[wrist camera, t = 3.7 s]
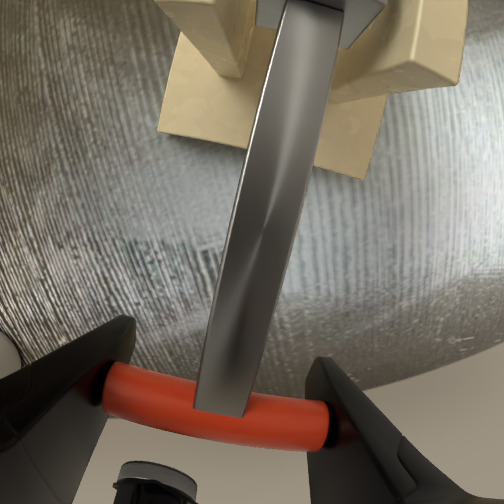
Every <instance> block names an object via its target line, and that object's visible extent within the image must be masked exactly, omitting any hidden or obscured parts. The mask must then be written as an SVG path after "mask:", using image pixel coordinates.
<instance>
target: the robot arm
mask: <svg viewBox="0 0 504 504" xmlns="http://www.w3.org/2000/svg"><path fill="white" fill-rule="evenodd" d="M135 341H136V319H135V318H134V317H131V316H127V315H119V316H118V317H116V318H114V319H112V320H110V321H108V322H106V323H104V324H103V325H101V326H99V327H97V328H95V329H93V330H91V331H90V332H88V333H86V334H84V335H82V336H80V337H78V338H77V339H75V340H73V341H71V342H69V343H67V344H65V345H64V346H62V347H60V348H58V349H56V350H54V351H53V352H51V353H49V354H47V355H45V356H43V357H41V358H40V359H38V360H36V361H34V362H32V363H31V365H30V364H28V365H27V366H25V367H23V368H21V369H19V370H17V371H15V372H13V373H11V374H9V375H7V376H5V377H3V378H1V379H0V504H72V502H73V500H74V497H75V495H76V492H77V490H78V487H79V485H80V482H81V480H82V477H83V475H84V472H85V470H86V467H87V465H88V463H89V460H90V458H91V456H92V453H93V451H94V448H95V446H96V444H97V442H98V439H99V437H100V435H101V432H102V430H103V428H104V426H105V423H106V421H107V419H108V417H109V414H106V413H105V412H104V411H103V408H102V392H103V386H104V382H105V379H106V376H107V373H108V371H109V369H110V367H111V366H112V364H113V363H114V362H117V361H119V362H123V363H126V364H129V362H130V359H131V356H132V353H133V350H134V347H135ZM305 399H308V400H318V401H323V402H324V403H326V405H327V407H328V410H329V430H328V435H327V438H326V441H325V443H324V445H323V447H322V448H321V449H320V450H319V451H316V452H307V461H308V473H309V484H310V497H311V504H504V500H503V499H491V498H482V497H477V496H474V495H472V494H469V493H467V492H466V491H464V490H463V489H462V488H460V487H459V486H458V485H457V484H455V483H454V482H453V481H452V480H451V479H449V478H448V477H447V476H446V475H445V474H444V473H442V472H441V471H440V470H439V469H438V468H437V467H435V466H434V465H433V464H432V463H431V462H430V461H429V460H428V459H426V458H425V457H424V456H423V455H422V454H421V453H420V452H419V451H418V450H417V449H416V448H415V447H414V446H413V445H412V444H411V443H410V442H409V441H408V440H407V438H406V437H405V436H402V433H401V432H400V431H399V430H398V429H397V428H396V427H395V426H394V425H393V424H392V423H391V422H390V421H389V420H388V418H387V417H386V416H385V415H384V414H383V413H382V412H381V411H380V410H379V409H378V408H377V407H376V406H375V405H374V403H372V401H371V400H370V399H369V398H368V397H367V396H366V395H365V394H364V393H363V392H362V391H361V390H360V388H359V387H358V386H357V385H356V384H355V383H354V382H353V381H352V380H351V379H350V378H349V377H348V376H347V374H346V373H345V372H344V371H343V370H342V369H341V368H340V367H339V366H338V365H337V364H336V363H335V361H334V360H333V359H332V358H330V357H323V356H318V357H316V358H315V360H314V362H313V364H312V366H311V368H310V370H309V373H308V375H307V377H306V382H305ZM113 488H115V489H116V490H117V493H116V496H115V500H114V503H113V504H198V503H196V502H194V501H192V500H190V499H189V498H187V497H185V496H183V495H181V494H180V493H178V492H176V491H174V490H173V489H171V488H169V487H168V486H166V485H164V484H163V483H161V482H159V481H158V480H154V479H149V480H140V481H130V482H118V483H113Z"/></svg>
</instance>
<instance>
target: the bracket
mask: <svg viewBox="0 0 504 504" xmlns="http://www.w3.org/2000/svg"><path fill="white" fill-rule="evenodd" d="M154 2H155V3H156V4H157V5H158V6H159V7H160V8H161V9H162V10H163V11H164V13H165V14H166V15H167V16H168V17H169V18H170V19H171V20H172V21H173V23H174V24H175V25H176V26H177V27H178V28H179V29H180V30H181V32H180V36H179V40H178V43H177V47H176V50H175V54H174V58H173V62H172V66H171V70H170V74H169V78H168V82H167V86H166V91H165V95H164V100H163V104H162V109H161V114H160V119H159V124H158V129H157V131H158V132H160V133H166V134H172V135H178V136H184V137H189V138H195V139H200V140H205V141H210V142H215V143H220V144H225V145H230V146H234V147H239V148H244V149H247V146H248V142H249V138H250V133H251V129H252V125H253V121H254V117H255V113H256V109H257V105H258V101H259V97H260V93H261V89H262V86H263V82H264V78H265V74H266V70H267V66H268V62H269V59H270V55H271V51H272V47H273V43H274V40H275V36H276V32H277V30H275V29H270V28H266V27H261V26H257V25H255V11H256V0H154ZM467 14H468V0H388V1H387V6H386V7H385V8H384V9H383V10H382V11H381V12H380V13H379V15H378V16H377V17H376V18H375V19H374V20H373V21H372V22H371V23H370V25H369V26H368V27H367V28H366V29H365V30H364V31H363V33H362V34H361V35H360V36H359V37H358V38H357V39H356V41H355V42H354V43H353V44H352V45H351V46H350V48H349V49H342V48H338V53H337V58H336V63H335V68H334V72H333V77H332V82H331V87H330V91H329V96H328V101H327V105H326V110H325V114H324V119H323V123H322V128H321V132H320V137H319V141H318V145H317V150H316V154H315V158H314V163H313V166H316V167H319V168H323V169H326V170H330V171H333V172H337V173H340V174H343V175H347V176H350V177H353V178H356V179H360V180H364V179H365V176H366V173H367V169H368V166H369V162H370V159H371V155H372V152H373V148H374V145H375V141H376V137H377V134H378V130H379V126H380V122H381V118H382V114H383V111H384V107H385V102H386V98H387V95H388V94H394V93H401V92H407V91H415V90H422V89H430V88H439V87H448V86H456V85H457V84H458V82H459V76H460V70H461V64H462V57H463V50H464V43H465V34H466V25H467Z"/></svg>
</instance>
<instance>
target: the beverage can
mask: <svg viewBox="0 0 504 504" xmlns="http://www.w3.org/2000/svg"><path fill="white" fill-rule="evenodd" d="M19 369H21V360H20V356H19V353H18V351H17V349H16V347H15V346H14V344H13V343H12V342H11V340H10V339H9V338H8V337H7V336H6V335H5V334H4V333H2V332H1V331H0V379H1V378H3V377H5V376H7V375H9V374H11V373H13V372H15V371H17V370H19Z"/></svg>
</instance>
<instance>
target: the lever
mask: <svg viewBox="0 0 504 504" xmlns="http://www.w3.org/2000/svg"><path fill="white" fill-rule="evenodd" d="M387 1H388V0H256V11H255V25H257V26H261V27H266V28H270V29H275V30H277V32H276V36H275V40H274V43H273V47H272V51H271V55H270V59H269V62H268V66H267V70H266V74H265V78H264V82H263V86H262V89H261V93H260V97H259V101H258V105H257V109H256V113H255V117H254V121H253V125H252V129H251V133H250V138H249V142H248V146H247V150H246V154H245V158H244V163H243V167H242V171H241V175H240V179H239V184H238V188H237V192H236V197H235V201H234V205H233V210H232V214H231V219H230V223H229V228H228V232H227V237H226V241H225V246H224V250H223V255H222V259H221V264H220V269H219V273H218V278H217V283H216V287H215V292H214V297H213V302H212V307H211V311H210V316H209V321H208V326H207V331H206V336H205V341H204V346H203V351H202V356H201V361H200V367H199V372H198V377H197V381H192V380H188V379H184V378H179V377H175V376H171V375H167V374H163V373H159V372H155V371H151V370H148V369H144V368H140V367H137V366H133V365H130V364H126V363H123V362H119V361H117V362H114V363H113V364H112V366H111V367H110V369H109V371H108V373H107V376H106V379H105V382H104V386H103V392H102V408H103V411H104V412H105V413H106V414H109V415H112V416H115V417H118V418H121V419H125V420H128V421H131V422H135V423H138V424H142V425H146V426H149V427H153V428H157V429H161V430H165V431H169V432H173V433H177V434H182V435H187V436H192V437H196V438H201V439H207V440H212V441H218V442H224V443H230V444H236V445H243V446H250V447H259V448H267V449H277V450H290V451H303V452H304V451H305V452H316V451H319V450H320V449H321V448H322V447H323V445H324V443H325V441H326V438H327V435H328V430H329V410H328V407H327V405H326V403H324V402H323V401H318V400H308V399H299V398H291V397H283V396H276V395H269V394H262V393H256V392H252V388H253V385H254V382H255V379H256V375H257V372H258V369H259V365H260V362H261V358H262V355H263V352H264V348H265V345H266V341H267V338H268V334H269V331H270V327H271V324H272V320H273V317H274V313H275V310H276V306H277V303H278V299H279V295H280V292H281V288H282V284H283V281H284V277H285V273H286V270H287V266H288V262H289V258H290V255H291V251H292V247H293V243H294V239H295V235H296V231H297V228H298V224H299V220H300V216H301V212H302V208H303V204H304V200H305V196H306V192H307V188H308V183H309V179H310V175H311V171H312V167H313V163H314V158H315V154H316V150H317V145H318V141H319V137H320V132H321V128H322V123H323V119H324V114H325V110H326V105H327V101H328V96H329V91H330V87H331V82H332V77H333V72H334V68H335V63H336V58H337V53H338V48H342V49H349V48H350V46H351V45H352V44H353V43H354V42H355V41H356V39H357V38H358V37H359V36H360V35H361V34H362V33H363V31H364V30H365V29H366V28H367V27H368V26H369V25H370V23H371V22H372V21H373V20H374V19H375V18H376V17H377V16H378V15H379V13H380V12H381V11H382V10H383V9H384V8H385V7H386V6H387Z"/></svg>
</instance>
